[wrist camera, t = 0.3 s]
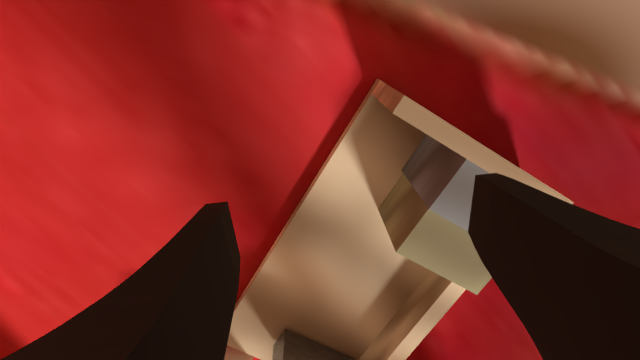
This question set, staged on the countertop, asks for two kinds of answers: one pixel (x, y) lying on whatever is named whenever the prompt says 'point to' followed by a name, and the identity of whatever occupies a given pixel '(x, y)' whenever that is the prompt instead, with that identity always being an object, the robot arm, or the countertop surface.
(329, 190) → the shelf
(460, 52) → the countertop surface
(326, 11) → the countertop surface
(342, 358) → the bookend
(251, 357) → the beige wooden cube
